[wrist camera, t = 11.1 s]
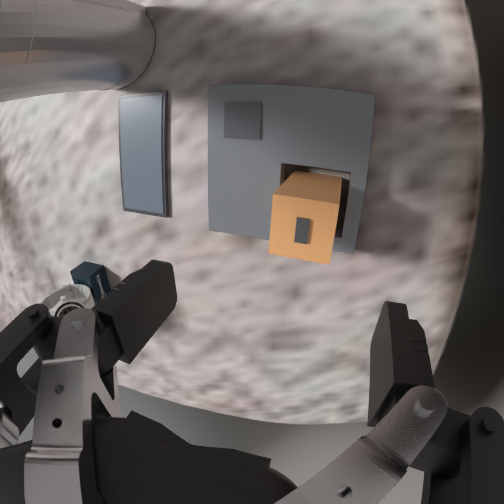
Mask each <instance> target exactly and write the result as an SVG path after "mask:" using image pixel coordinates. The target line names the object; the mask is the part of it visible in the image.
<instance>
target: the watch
mask: <svg viewBox="0 0 504 504" xmlns="http://www.w3.org/2000/svg"><path fill="white" fill-rule="evenodd" d="M70 273H71V276H72V279H73V282H74V285H71V284H68V285H66V286H62V287H60V288H58V289H56V290H54V291H52V292H50V293H49V295H47V296H46V297H45V298H44V299H43V300H42V301H41V302H40V304H44V305H46V306H47V307H48V309H49V312H50V314H51V316H55V317H64V316H65V315H66V314H67V313H68V312H70V311H72V310H74V309H77V308H89V309H91V308H93V307H94V306H95V305H96V304H97V303H98V302H99V301H100V300H101V299H102V298H103V297H105V296H106V295H107V294H108V293H109V292H110V291H111V290H110V286H109V283H108V279H107V276H106V272H105V269H104V266H103V265H99V264H94V263H89V262H85V261H84V262H83V263H81V264H80V265H79V266H77V267H76V268H74V269H73V270H71V271H70ZM76 297H77V298H76Z"/></svg>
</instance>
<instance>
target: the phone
mask: <svg viewBox="0 0 504 504" xmlns="http://www.w3.org/2000/svg"><path fill="white" fill-rule="evenodd" d="M167 103H168V91H158V92H147V93H138V94H130V95H122V96H119V149H120V170H121V185H122V198H123V208H124V211H130V212H136V213H142V214H148V215H154V216H160V217H166V218H167V217H168V216H169V209H168V183H167Z"/></svg>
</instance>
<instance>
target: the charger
mask: <svg viewBox="0 0 504 504" xmlns="http://www.w3.org/2000/svg"><path fill="white" fill-rule="evenodd" d="M341 183H342V177H337V176H331V175H324V174H318V173H311V172H304V171H297V170H295V171H294V172H293V173H292V174H291V175H290V176H289V177H288V178H287V180H286V181H285V182H284V183H283V184H282V185H281V186H280V187H279V188H278V189H277V190H276V191H275V192H274V193H273V200H272V214H271V227H270V240H269V254H275V255H280V256H286V257H291V258H297V259H302V260H307V261H313V262H318V263H324V264H329V263H330V258H331V253H332V247H333V241H334V236H335V230H336V224H337V218H338V211H339V205H340V194H341Z"/></svg>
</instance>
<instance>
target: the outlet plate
mask: <svg viewBox="0 0 504 504" xmlns="http://www.w3.org/2000/svg"><path fill="white" fill-rule="evenodd" d="M374 106H375V95H372V94H366V93H360V92H353V91H346V90H338V89H329V88H320V87H308V86H294V85H274V84H221V85H209V106H208V207H209V230H211V231H217V232H224V233H230V234H236V235H243V236H249V237H255V238H261V239H267V240H270V227H271V214H272V200H273V193H274V192H275V191H276V190H277V189H278V188H279V187H280V186H281V185H282V184H283V183H284V182H285V167H286V164H295V165H303V166H311V167H319V168H326V169H333V170H339V171H346V172H350V180H349V187H348V195H347V202H346V209H345V215H344V222H343V228H342V229H338V228H336V230H335V236H334V241H333V247H332V251H338V252H344V253H350V254H354V250H355V245H356V240H357V234H358V229H359V224H360V218H361V212H362V206H363V200H364V194H365V187H366V180H367V173H368V165H369V157H370V149H371V140H372V130H373V119H374Z"/></svg>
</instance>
